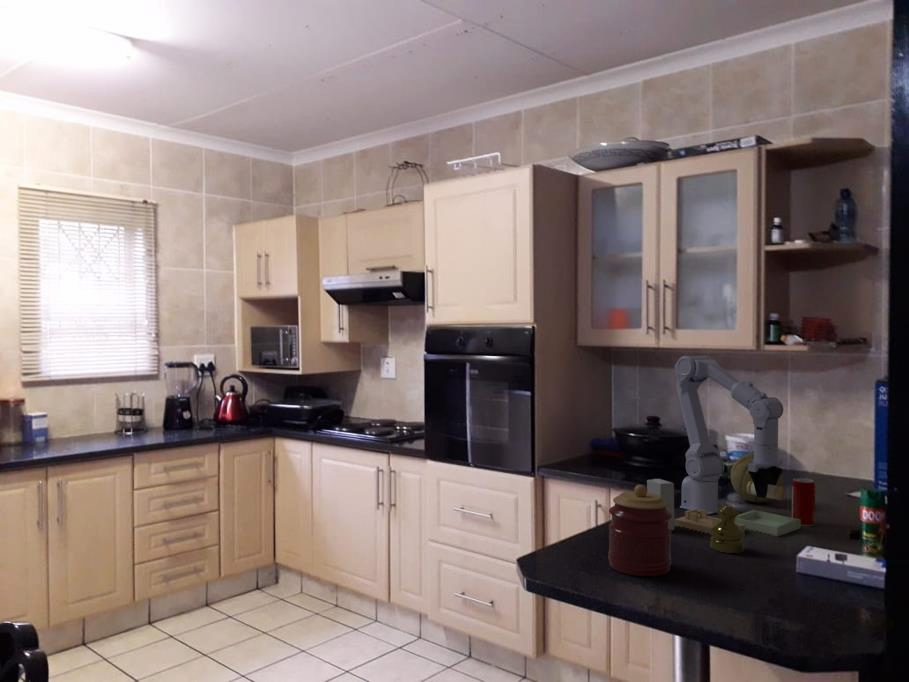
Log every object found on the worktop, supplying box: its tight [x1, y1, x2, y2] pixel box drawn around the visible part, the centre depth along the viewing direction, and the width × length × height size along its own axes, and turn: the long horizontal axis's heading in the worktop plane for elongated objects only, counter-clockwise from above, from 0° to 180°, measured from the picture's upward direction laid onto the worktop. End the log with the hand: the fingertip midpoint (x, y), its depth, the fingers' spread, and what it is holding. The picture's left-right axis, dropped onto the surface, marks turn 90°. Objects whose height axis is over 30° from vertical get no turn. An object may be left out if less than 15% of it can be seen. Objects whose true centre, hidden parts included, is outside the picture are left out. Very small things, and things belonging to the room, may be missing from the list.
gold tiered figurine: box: [709, 505, 745, 554], centre depth 161 cm, size 7×7×10 cm
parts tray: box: [735, 509, 801, 537], centre depth 181 cm, size 13×13×2 cm
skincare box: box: [646, 478, 675, 531], centre depth 178 cm, size 6×4×12 cm
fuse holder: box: [674, 508, 746, 535], centre depth 179 cm, size 14×10×4 cm
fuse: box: [747, 481, 786, 501], centre depth 181 cm, size 8×4×4 cm, turn 40°
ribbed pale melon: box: [730, 452, 784, 503], centre depth 208 cm, size 15×15×15 cm
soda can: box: [791, 477, 816, 527], centre depth 184 cm, size 6×6×12 cm
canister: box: [607, 484, 673, 577], centre depth 148 cm, size 13×13×18 cm
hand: (765, 496), depth 181 cm, fingers closed on fuse, 3 cm apart
